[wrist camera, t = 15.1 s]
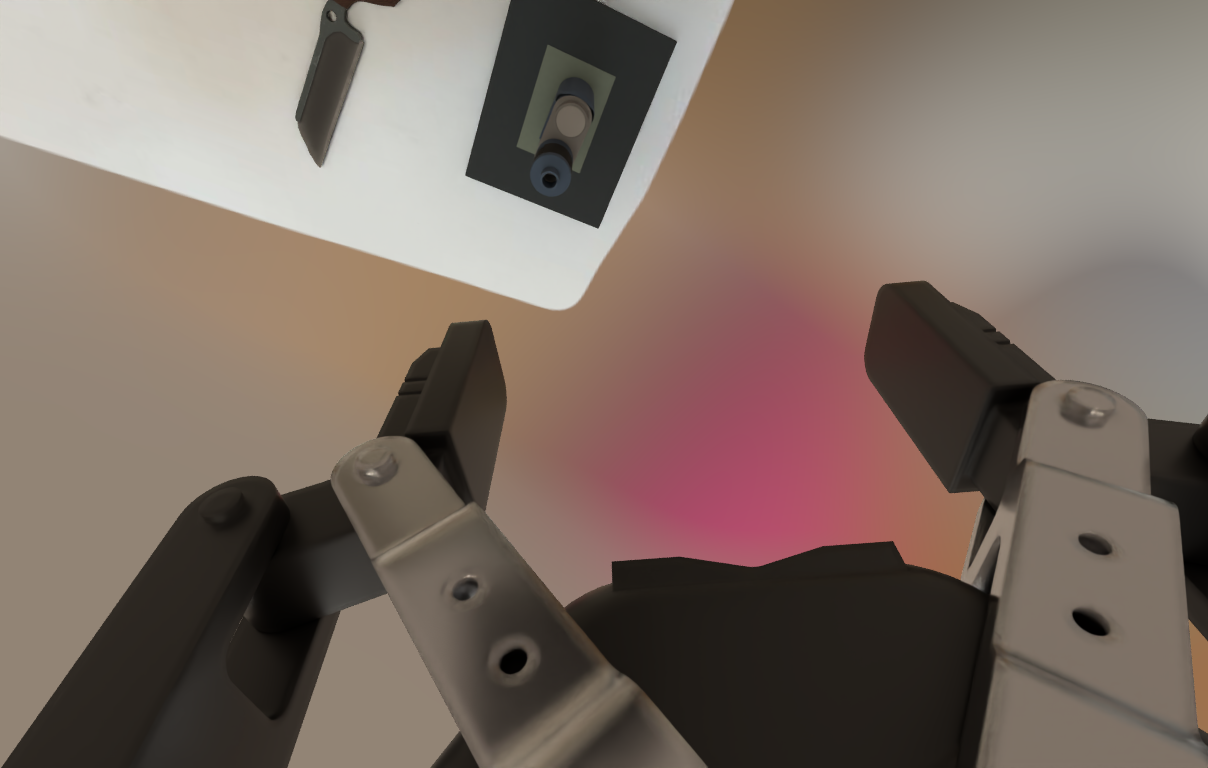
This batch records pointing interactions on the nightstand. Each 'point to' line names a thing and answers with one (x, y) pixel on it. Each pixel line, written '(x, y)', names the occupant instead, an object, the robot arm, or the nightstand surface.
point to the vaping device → (562, 137)
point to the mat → (528, 88)
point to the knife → (329, 76)
